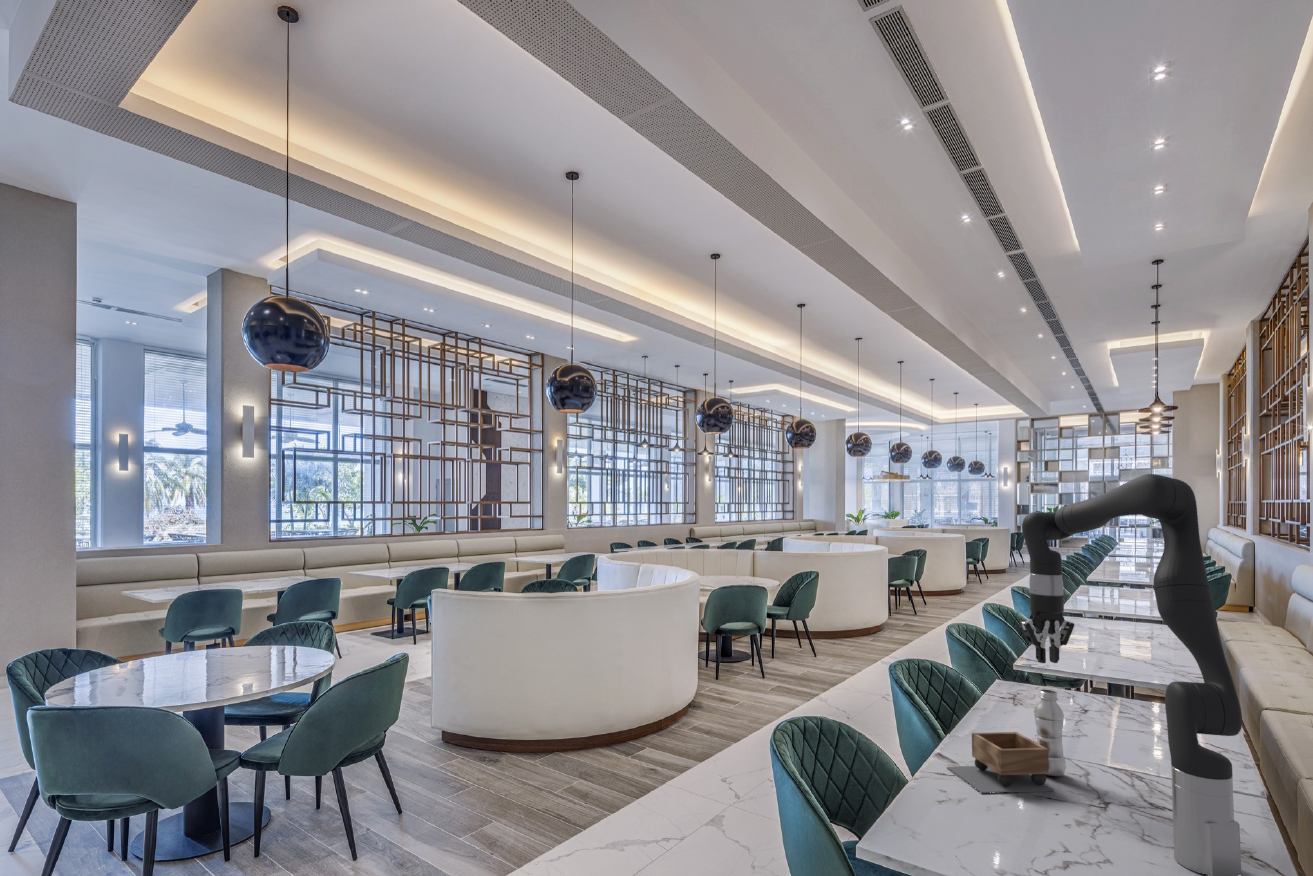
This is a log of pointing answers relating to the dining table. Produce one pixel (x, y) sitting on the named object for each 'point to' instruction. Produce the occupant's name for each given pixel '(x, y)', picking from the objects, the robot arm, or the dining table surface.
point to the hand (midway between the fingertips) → (1047, 662)
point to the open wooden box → (1010, 756)
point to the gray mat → (996, 781)
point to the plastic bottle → (1050, 730)
